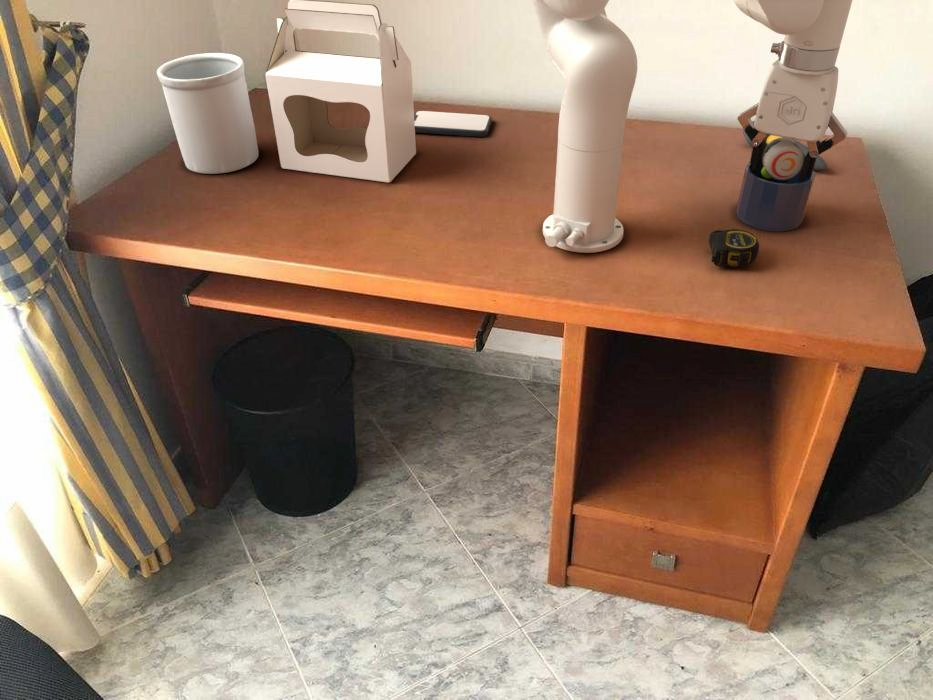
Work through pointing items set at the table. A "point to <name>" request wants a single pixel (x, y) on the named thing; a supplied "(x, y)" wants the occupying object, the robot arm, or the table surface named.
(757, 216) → the cup
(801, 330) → the table surface
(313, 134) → the gable box
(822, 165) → the paintbrush
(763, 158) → the roller toy
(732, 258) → the tape measure
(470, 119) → the phone case
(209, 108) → the utensil holder
